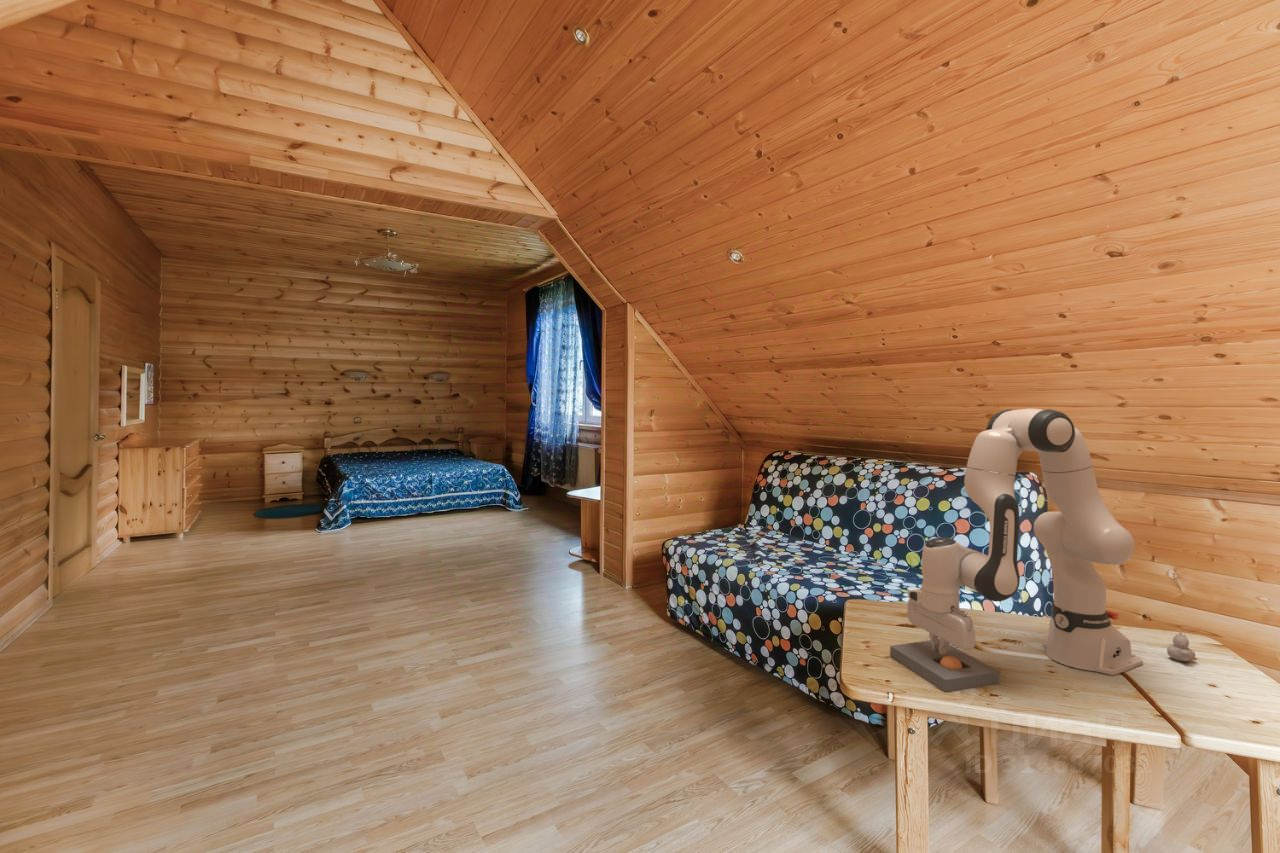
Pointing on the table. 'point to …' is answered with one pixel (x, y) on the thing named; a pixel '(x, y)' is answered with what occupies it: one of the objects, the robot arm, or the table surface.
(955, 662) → the ball
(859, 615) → the table surface
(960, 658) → the pocket board
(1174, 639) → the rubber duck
